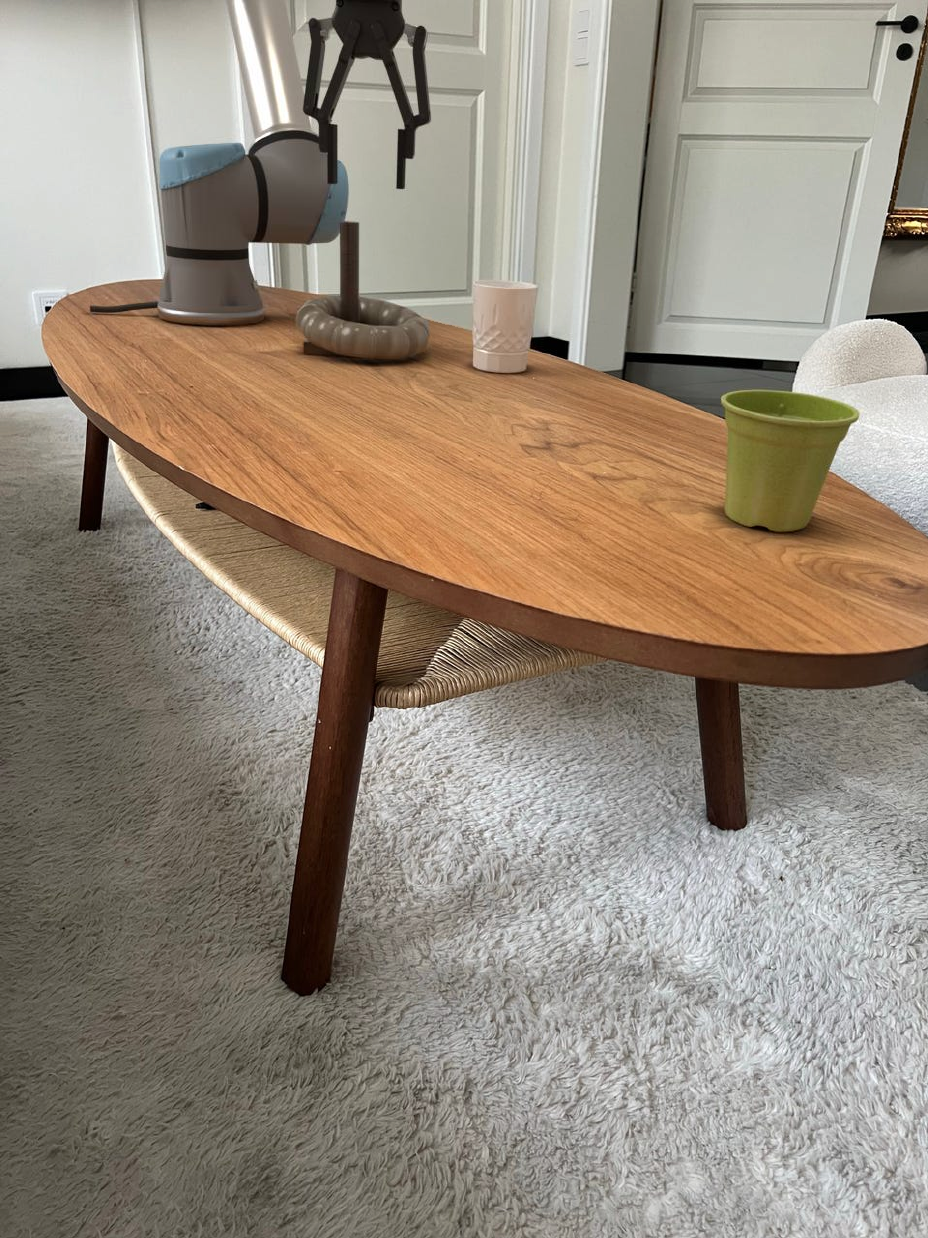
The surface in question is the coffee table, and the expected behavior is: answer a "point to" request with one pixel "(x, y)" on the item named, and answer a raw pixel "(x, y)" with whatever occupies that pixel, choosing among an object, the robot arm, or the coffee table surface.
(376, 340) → the taupe ribbed ring
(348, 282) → the stand
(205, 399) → the coffee table surface
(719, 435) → the coffee table surface
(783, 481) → the plant pot
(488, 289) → the white cup
